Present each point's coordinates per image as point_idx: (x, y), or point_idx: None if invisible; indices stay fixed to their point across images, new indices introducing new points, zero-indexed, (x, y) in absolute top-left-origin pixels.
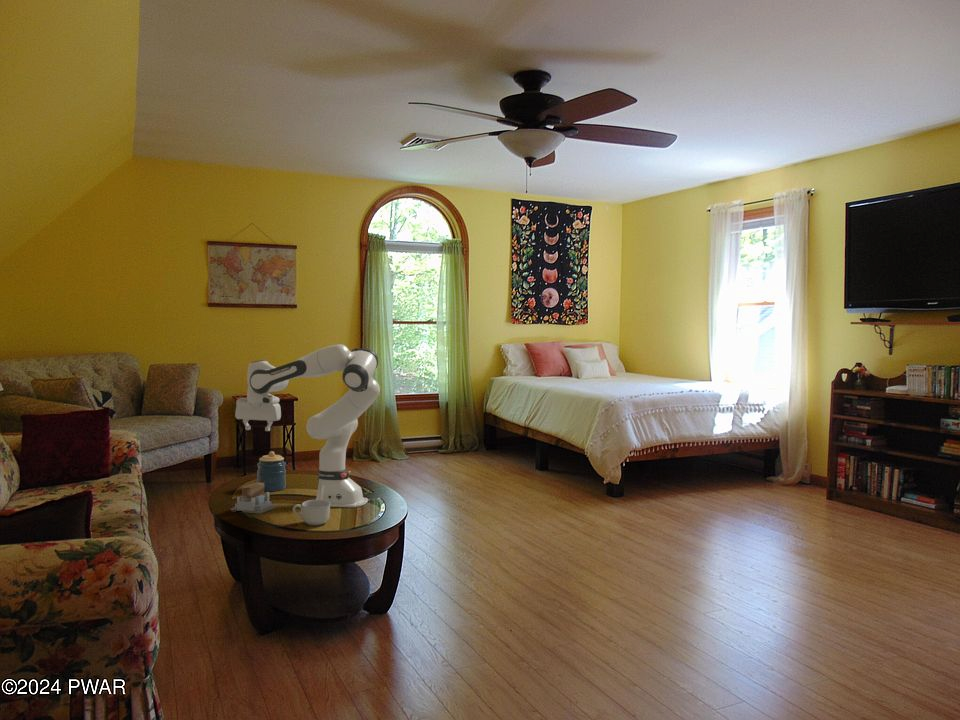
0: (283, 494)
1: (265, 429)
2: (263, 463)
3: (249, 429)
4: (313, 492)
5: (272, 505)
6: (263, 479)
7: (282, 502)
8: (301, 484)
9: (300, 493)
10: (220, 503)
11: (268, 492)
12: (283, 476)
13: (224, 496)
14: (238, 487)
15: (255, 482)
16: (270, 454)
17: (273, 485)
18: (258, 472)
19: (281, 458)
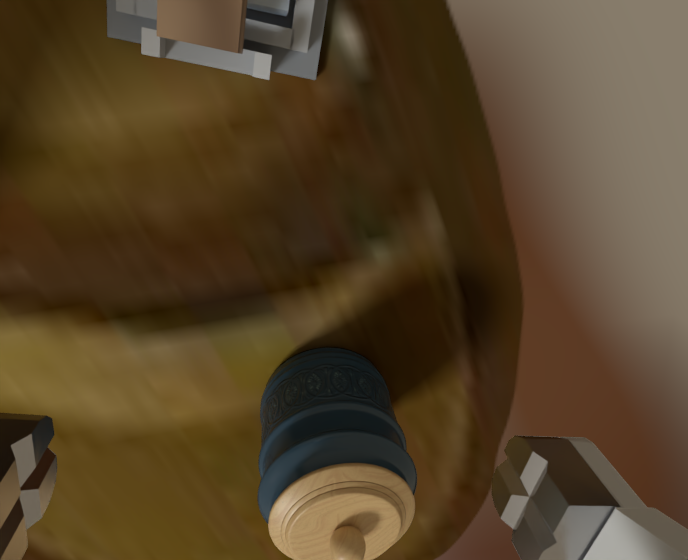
0: (220, 315)
1: (11, 433)
2: (367, 454)
3: (507, 469)
4: (93, 374)
5: (118, 14)
6: (347, 381)
7: (136, 158)
8: (228, 479)
9: (146, 347)
10: (460, 90)
11: (141, 41)
12: (262, 436)
13: (483, 233)
14: (471, 387)
15: (238, 46)
16: (349, 534)
17: (294, 371)
18: (386, 414)
19: (277, 524)
